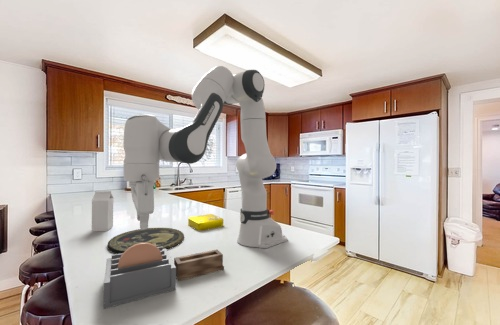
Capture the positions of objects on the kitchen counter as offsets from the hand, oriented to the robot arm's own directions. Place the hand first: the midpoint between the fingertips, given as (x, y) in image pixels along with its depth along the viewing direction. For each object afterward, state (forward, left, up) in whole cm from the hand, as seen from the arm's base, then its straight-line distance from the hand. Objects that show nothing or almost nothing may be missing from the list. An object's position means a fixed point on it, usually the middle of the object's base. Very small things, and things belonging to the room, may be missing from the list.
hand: (142, 224), depth 62 cm
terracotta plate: (0, 0, -11) cm, 11 cm away
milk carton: (+12, -66, -18) cm, 69 cm away
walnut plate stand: (-17, -2, -17) cm, 24 cm away
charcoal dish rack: (0, -2, -17) cm, 17 cm away
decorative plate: (-6, -38, -18) cm, 42 cm away
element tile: (-35, -49, -18) cm, 63 cm away
